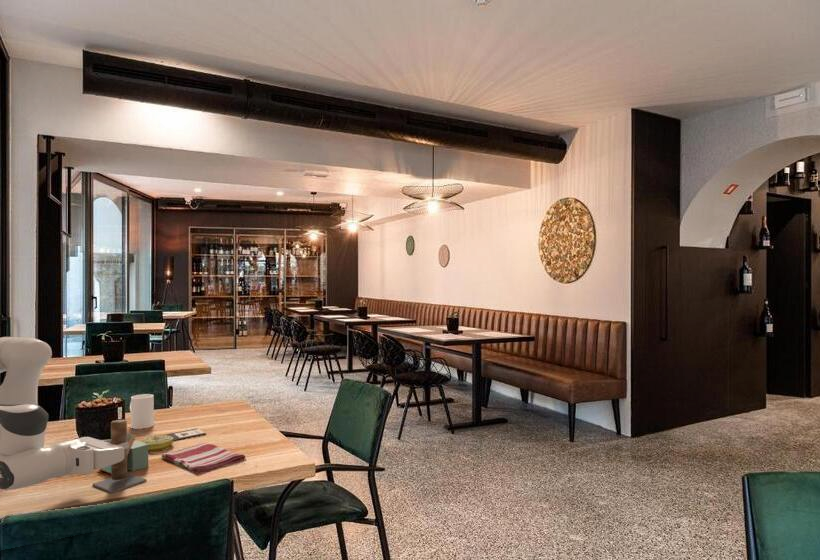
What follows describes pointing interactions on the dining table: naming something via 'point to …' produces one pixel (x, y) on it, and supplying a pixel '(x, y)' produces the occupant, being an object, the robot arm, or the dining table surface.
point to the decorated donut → (158, 442)
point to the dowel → (116, 438)
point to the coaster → (119, 483)
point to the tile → (130, 440)
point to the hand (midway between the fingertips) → (122, 443)
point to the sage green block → (137, 456)
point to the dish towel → (202, 457)
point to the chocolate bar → (186, 434)
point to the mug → (142, 411)
